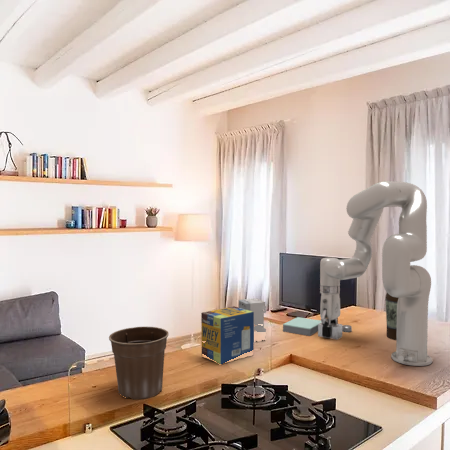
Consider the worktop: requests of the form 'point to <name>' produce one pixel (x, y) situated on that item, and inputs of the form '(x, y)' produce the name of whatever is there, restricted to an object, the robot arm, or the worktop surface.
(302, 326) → the stand
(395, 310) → the printed label canister
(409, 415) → the worktop surface
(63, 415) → the worktop surface
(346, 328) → the steel spacer
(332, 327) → the block
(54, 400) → the worktop surface
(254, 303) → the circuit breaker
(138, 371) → the plant pot
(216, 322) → the protein box
